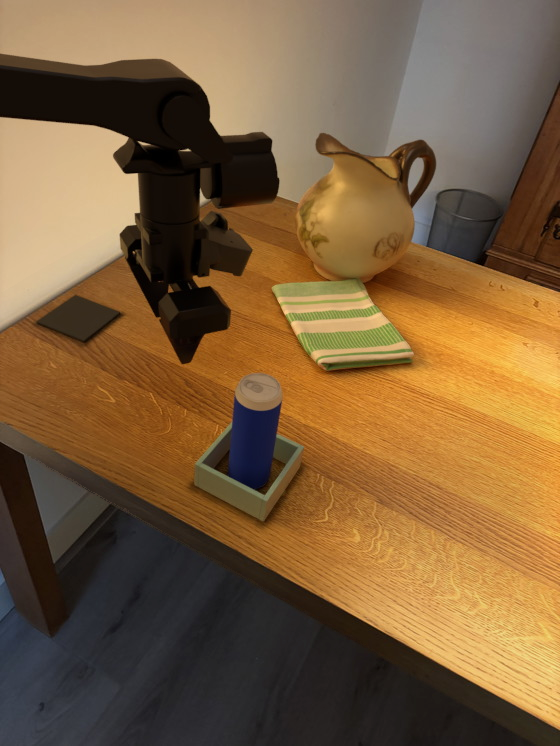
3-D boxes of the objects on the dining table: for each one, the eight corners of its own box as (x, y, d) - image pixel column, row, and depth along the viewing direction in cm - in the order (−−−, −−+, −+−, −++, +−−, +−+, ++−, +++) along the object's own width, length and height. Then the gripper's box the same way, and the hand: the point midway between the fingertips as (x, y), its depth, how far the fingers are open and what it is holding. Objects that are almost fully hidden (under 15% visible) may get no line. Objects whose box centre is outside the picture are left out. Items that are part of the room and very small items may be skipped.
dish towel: (359, 286, 105) (362, 274, 103) (415, 364, 88) (420, 351, 87) (270, 292, 99) (272, 279, 98) (313, 376, 83) (315, 362, 81)
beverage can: (276, 469, 69) (291, 381, 59) (257, 499, 65) (271, 410, 55) (240, 453, 70) (249, 365, 60) (220, 481, 66) (226, 392, 56)
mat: (84, 342, 83) (83, 340, 83) (36, 323, 85) (36, 321, 85) (120, 313, 89) (120, 311, 89) (75, 296, 91) (75, 294, 91)
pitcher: (271, 276, 104) (287, 142, 87) (313, 230, 121) (333, 110, 104) (383, 313, 99) (423, 177, 82) (410, 259, 116) (448, 137, 100)
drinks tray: (263, 522, 63) (266, 501, 60) (194, 485, 65) (194, 463, 63) (300, 467, 69) (304, 446, 67) (235, 435, 72) (237, 414, 70)
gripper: (287, 246, 50) (269, 373, 60) (211, 168, 62) (208, 285, 72) (170, 263, 46) (172, 397, 56) (113, 175, 58) (123, 299, 68)
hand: (172, 338), depth 63 cm, fingers open, 9 cm apart
